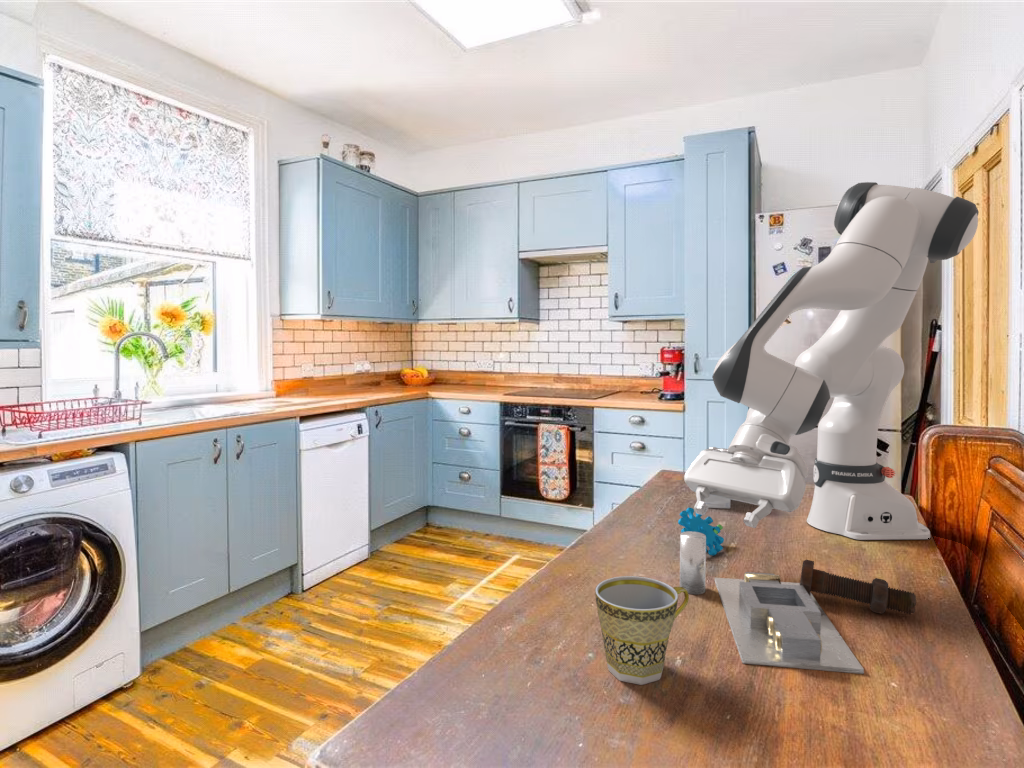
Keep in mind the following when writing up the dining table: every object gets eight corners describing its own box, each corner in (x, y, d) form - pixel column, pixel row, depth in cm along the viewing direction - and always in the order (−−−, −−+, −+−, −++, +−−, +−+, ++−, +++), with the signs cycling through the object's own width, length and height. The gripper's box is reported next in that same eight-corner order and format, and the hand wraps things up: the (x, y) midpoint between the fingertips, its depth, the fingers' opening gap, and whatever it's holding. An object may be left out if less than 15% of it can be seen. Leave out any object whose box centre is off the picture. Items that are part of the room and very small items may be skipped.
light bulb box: (695, 496, 155) (695, 454, 154) (722, 497, 154) (723, 455, 153) (702, 508, 145) (703, 463, 144) (731, 509, 144) (732, 464, 143)
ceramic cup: (624, 701, 68) (625, 616, 68) (580, 659, 78) (580, 583, 77) (714, 675, 74) (715, 595, 73) (662, 638, 83) (663, 567, 82)
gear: (698, 553, 110) (674, 506, 116) (678, 569, 114) (656, 522, 120) (738, 550, 116) (713, 505, 122) (718, 565, 119) (694, 520, 125)
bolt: (911, 631, 87) (797, 601, 95) (911, 603, 91) (801, 577, 98) (918, 605, 84) (800, 577, 92) (917, 577, 88) (804, 552, 95)
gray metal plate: (804, 586, 99) (804, 565, 99) (863, 674, 74) (864, 645, 73) (714, 581, 102) (715, 560, 101) (742, 663, 76) (742, 635, 76)
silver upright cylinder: (703, 585, 100) (704, 532, 99) (706, 595, 96) (707, 540, 95) (678, 583, 101) (679, 530, 100) (680, 593, 97) (681, 538, 96)
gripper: (697, 435, 113) (663, 495, 108) (806, 449, 97) (773, 521, 91) (711, 456, 116) (679, 515, 111) (819, 473, 100) (788, 544, 94)
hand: (722, 518), depth 101 cm, fingers open, 8 cm apart
